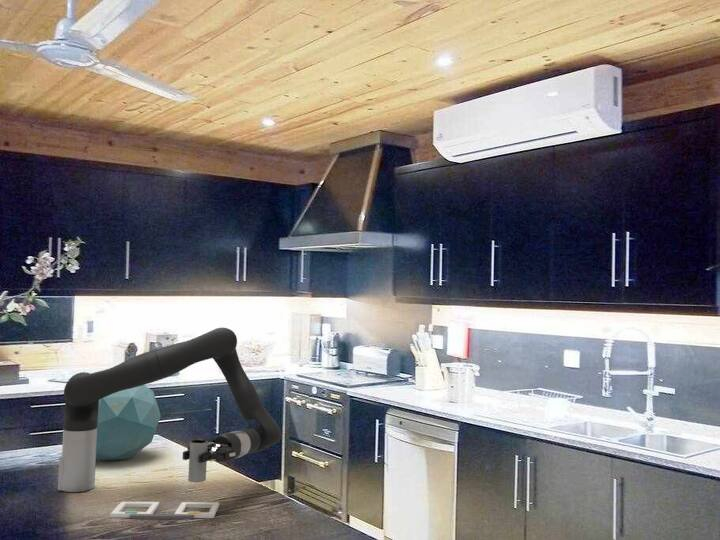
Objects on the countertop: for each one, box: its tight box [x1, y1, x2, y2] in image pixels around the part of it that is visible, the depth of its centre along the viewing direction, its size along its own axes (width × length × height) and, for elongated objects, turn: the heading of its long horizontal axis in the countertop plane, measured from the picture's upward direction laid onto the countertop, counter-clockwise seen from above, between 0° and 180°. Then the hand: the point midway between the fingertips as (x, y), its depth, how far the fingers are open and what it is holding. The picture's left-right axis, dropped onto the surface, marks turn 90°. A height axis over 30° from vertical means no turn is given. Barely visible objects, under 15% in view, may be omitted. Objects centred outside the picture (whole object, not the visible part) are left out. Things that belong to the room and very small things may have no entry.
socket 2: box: [173, 501, 220, 519], centre depth 178 cm, size 10×10×1 cm
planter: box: [187, 438, 209, 484], centre depth 178 cm, size 4×4×10 cm
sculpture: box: [96, 384, 161, 462], centre depth 233 cm, size 29×29×30 cm
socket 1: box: [109, 501, 160, 519], centre depth 177 cm, size 10×10×1 cm
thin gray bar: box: [128, 514, 195, 520], centre depth 172 cm, size 16×1×1 cm, turn 94°
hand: (191, 457), depth 176 cm, fingers closed on planter, 4 cm apart
